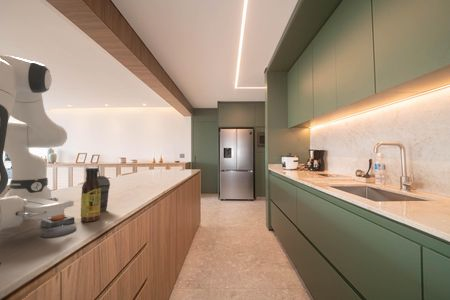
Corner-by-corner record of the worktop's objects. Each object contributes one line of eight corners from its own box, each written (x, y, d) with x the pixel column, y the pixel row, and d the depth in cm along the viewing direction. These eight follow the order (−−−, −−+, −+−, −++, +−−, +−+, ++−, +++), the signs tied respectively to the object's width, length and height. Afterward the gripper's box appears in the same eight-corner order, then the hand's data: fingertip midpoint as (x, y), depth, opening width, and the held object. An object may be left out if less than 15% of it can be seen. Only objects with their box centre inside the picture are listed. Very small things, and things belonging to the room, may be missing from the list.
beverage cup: (103, 214, 86) (104, 166, 87) (86, 213, 86) (87, 166, 87) (113, 209, 94) (113, 165, 94) (97, 209, 94) (97, 165, 94)
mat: (34, 234, 64) (34, 232, 64) (66, 225, 73) (66, 223, 73) (49, 239, 61) (49, 237, 61) (81, 229, 69) (81, 227, 69)
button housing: (40, 225, 72) (40, 219, 72) (63, 219, 79) (63, 214, 79) (51, 228, 69) (51, 222, 69) (74, 222, 76) (74, 217, 76)
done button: (48, 220, 73) (48, 215, 73) (60, 217, 77) (61, 212, 77) (54, 222, 72) (54, 216, 72) (66, 219, 75) (66, 213, 75)
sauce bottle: (90, 223, 75) (91, 168, 75) (76, 222, 76) (76, 168, 76) (104, 217, 81) (104, 167, 82) (91, 216, 83) (91, 167, 83)
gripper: (27, 204, 54) (82, 195, 66) (-6, 197, 63) (48, 189, 75) (26, 229, 54) (82, 214, 66) (-6, 218, 63) (48, 207, 75)
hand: (64, 201), depth 71 cm, fingers open, 8 cm apart
